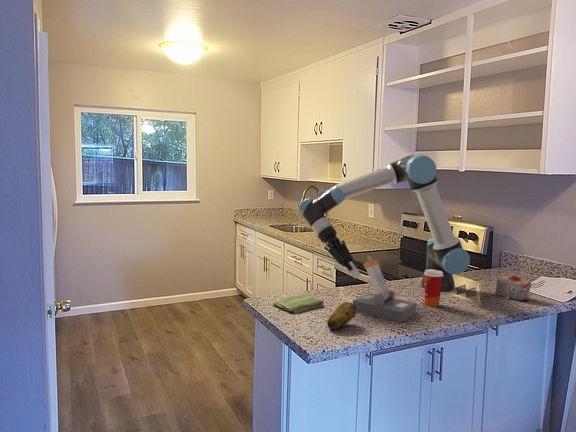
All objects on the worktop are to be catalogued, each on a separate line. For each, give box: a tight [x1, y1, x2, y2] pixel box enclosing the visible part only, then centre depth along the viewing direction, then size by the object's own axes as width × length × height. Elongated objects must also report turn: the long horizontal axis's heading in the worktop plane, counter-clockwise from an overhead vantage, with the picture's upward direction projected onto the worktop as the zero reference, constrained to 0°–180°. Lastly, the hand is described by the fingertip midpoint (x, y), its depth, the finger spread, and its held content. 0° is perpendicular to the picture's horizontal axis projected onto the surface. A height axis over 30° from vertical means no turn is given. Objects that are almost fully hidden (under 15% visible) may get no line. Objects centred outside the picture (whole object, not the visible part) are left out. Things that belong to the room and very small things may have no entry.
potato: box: [326, 301, 357, 330], centre depth 160 cm, size 8×13×8 cm, turn 118°
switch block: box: [352, 289, 418, 323], centre depth 177 cm, size 20×14×7 cm
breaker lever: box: [362, 258, 391, 302], centre depth 178 cm, size 3×6×16 cm, turn 142°
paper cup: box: [423, 269, 444, 308], centre depth 187 cm, size 8×8×14 cm
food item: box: [495, 275, 532, 302], centre depth 201 cm, size 14×8×10 cm, turn 37°
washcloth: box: [272, 292, 325, 314], centre depth 181 cm, size 13×18×3 cm
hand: (357, 276), depth 183 cm, fingers closed
